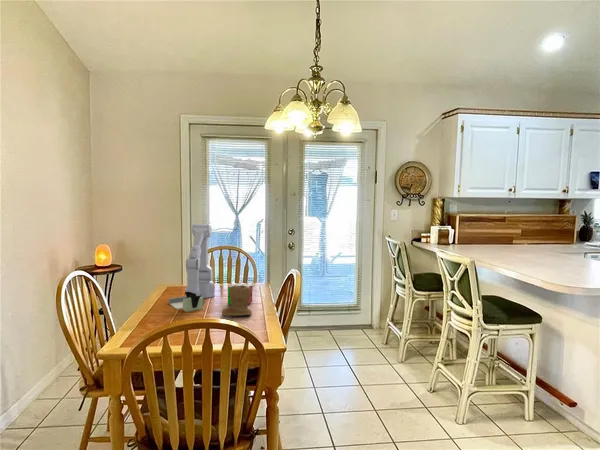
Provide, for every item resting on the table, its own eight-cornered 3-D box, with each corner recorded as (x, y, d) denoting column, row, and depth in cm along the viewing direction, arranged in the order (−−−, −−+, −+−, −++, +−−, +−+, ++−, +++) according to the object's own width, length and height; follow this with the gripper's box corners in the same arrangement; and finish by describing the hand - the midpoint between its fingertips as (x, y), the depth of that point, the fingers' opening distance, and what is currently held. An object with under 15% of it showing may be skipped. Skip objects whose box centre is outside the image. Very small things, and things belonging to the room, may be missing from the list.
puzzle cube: (252, 302, 219) (252, 285, 218) (242, 307, 210) (243, 289, 209) (237, 300, 224) (237, 283, 223) (227, 304, 214) (227, 286, 214)
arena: (194, 299, 221) (194, 294, 221) (203, 305, 212) (203, 299, 212) (168, 304, 212) (168, 298, 212) (176, 309, 203) (176, 304, 203)
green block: (199, 306, 209) (199, 295, 208) (202, 309, 205) (202, 297, 204) (182, 309, 203) (182, 298, 202) (186, 311, 199) (186, 300, 199)
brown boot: (250, 310, 205) (251, 282, 204) (252, 317, 193) (253, 288, 192) (221, 311, 202) (221, 283, 201) (221, 318, 190) (221, 288, 189)
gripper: (180, 279, 206) (180, 304, 207) (191, 284, 195) (191, 311, 196) (192, 277, 210) (192, 302, 211) (204, 282, 199) (204, 308, 200)
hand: (192, 306), depth 204 cm, fingers closed on green block, 4 cm apart
